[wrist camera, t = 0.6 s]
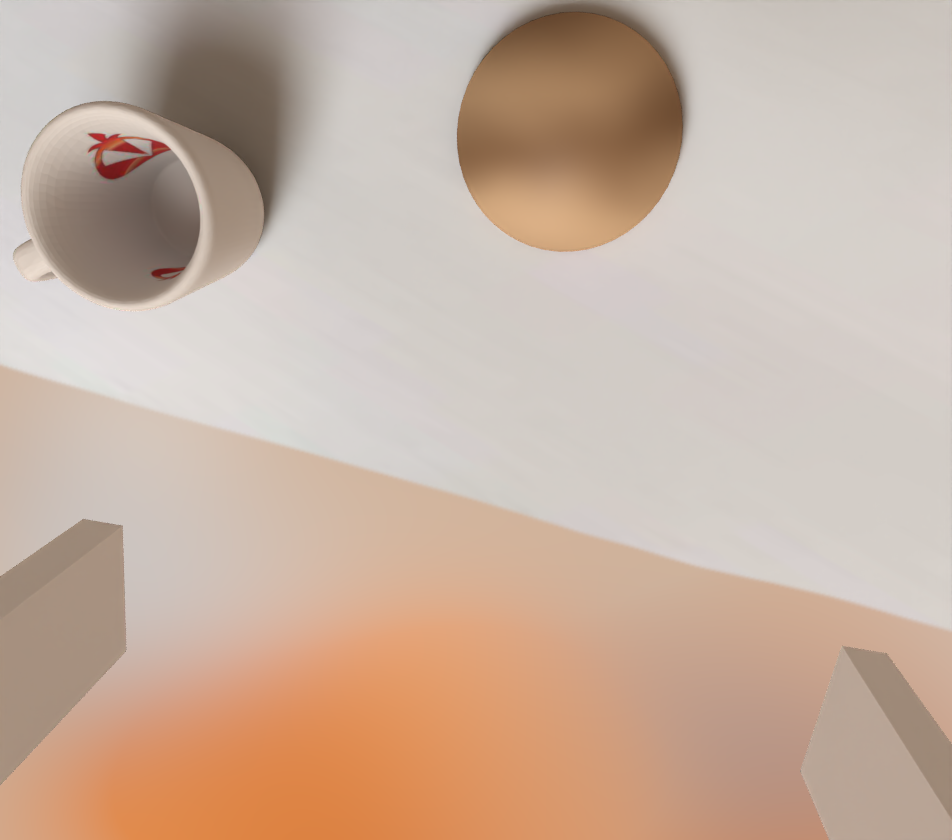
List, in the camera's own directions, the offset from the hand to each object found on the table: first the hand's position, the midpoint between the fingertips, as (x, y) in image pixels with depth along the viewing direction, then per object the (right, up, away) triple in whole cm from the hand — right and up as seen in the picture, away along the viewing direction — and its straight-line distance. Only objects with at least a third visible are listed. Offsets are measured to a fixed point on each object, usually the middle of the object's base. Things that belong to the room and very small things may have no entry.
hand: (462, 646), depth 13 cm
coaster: (+4, +17, +20) cm, 27 cm away
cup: (-14, +14, +23) cm, 31 cm away
